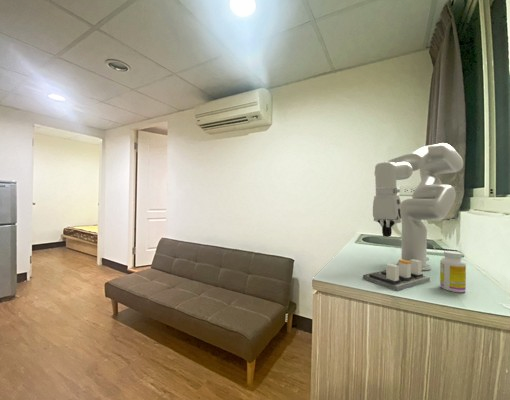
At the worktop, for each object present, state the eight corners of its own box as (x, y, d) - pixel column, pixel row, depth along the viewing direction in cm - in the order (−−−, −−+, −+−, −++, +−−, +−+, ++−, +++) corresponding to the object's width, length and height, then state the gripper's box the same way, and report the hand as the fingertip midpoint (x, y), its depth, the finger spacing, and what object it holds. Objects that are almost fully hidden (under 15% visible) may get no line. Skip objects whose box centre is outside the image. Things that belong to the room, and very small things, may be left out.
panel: (394, 271, 97) (395, 266, 97) (429, 281, 85) (429, 275, 85) (362, 278, 87) (363, 272, 87) (397, 291, 76) (397, 284, 76)
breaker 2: (412, 271, 89) (413, 259, 89) (421, 274, 86) (421, 261, 86) (409, 272, 88) (409, 259, 88) (418, 275, 85) (418, 261, 85)
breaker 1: (390, 277, 82) (390, 263, 82) (398, 280, 79) (399, 265, 79) (386, 278, 81) (386, 264, 81) (394, 281, 78) (395, 266, 78)
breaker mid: (402, 274, 85) (402, 259, 85) (411, 277, 83) (411, 261, 83) (398, 275, 84) (398, 260, 84) (407, 278, 82) (407, 262, 82)
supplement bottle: (470, 292, 76) (471, 254, 76) (456, 294, 74) (457, 255, 74) (448, 284, 82) (449, 249, 82) (435, 286, 80) (435, 250, 80)
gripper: (410, 191, 89) (411, 237, 89) (374, 192, 102) (375, 232, 102) (399, 192, 85) (400, 240, 86) (363, 193, 98) (364, 234, 99)
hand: (386, 236), depth 94 cm, fingers closed
